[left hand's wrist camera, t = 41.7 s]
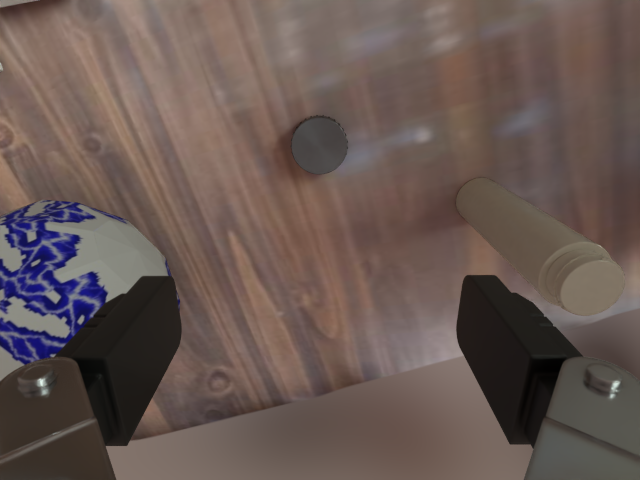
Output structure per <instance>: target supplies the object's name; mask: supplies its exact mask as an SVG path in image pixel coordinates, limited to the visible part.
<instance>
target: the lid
mask: <svg viewBox="0 0 640 480" xmlns="http://www.w3.org/2000/svg"><path fill="white" fill-rule="evenodd" d="M291 141H292V144H291V147H292V153H293V156H294V159H295V160H296V162H297V164H298V165H299V166H300V167H301V168H303V169H304V170H306V171H308V172H310V173H313V174H325V173H329V172H331V171H333V170H335V169H336V168H337V167H338V166H339V165H341V163H342V162H343V160H344V158H345V156H346V152H347V149H348V147H347V143H348V141H347V139H346V134H344V130H343V128H341V126H340V124H339V123H337V122H336V121H335V120H333V119H331V118H330V117H326V116H324V115H323V116H318V115H316V116H313V117H312V116H311V117H310V118H308V119H305V120H304V121H303V122H302V123H301V122H300V125H299V126H298V127H296V131H295V132H294V133H293V138H292V140H291Z"/></svg>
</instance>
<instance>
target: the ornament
mask: <svg viewBox="0 0 640 480" xmlns="http://www.w3.org/2000/svg"><path fill="white" fill-rule="evenodd" d="M142 276H171V273H170V270H169V267H168V264H167V261H166V258H165V257H164V256H163V255H162V254H161V252H160V251H159V250H158V249H157V248H156V247H155V246H154V245H153V244H152V243H151V242H150V241H149V240H148V239H147V238H146V237H145V236H143V235H142V234H141V233H140V232H139V231H138V230H137V229H136V228H135V227H134V226H133V225H132V224H131V223H130V222H129V221H128V220H126V219H123V218H120V217H117V216H114V215H111V214H108V213H105V212H103V211H100V210H97V209H94V208H91V207H88V206H85V205H83V204H80V203H76V202H64V201H52V200H41V201H38V202H35V203H33V204H30V205H27V206H24V207H22V208H19V209H16V210H13V211H11V212H9V213H6V214H4V215H2V216H0V381H1V380H2V379H3V378H4V377H6V376H7V375H8V374H10V373H11V372H13V371H14V370H16V369H18V368H19V367H21V366H24V365H26V364H28V363H31V362H33V361H37V360H40V359H44V358H50V357H54V356H55V355H56V354H57V353H58V352H59V351H60V350H61V349H62V348H63V347H64V346H65V345H66V344H67V343H68V341H69V340H70V339H71V338H72V337H73V336H74V335H75V334H76V333H77V332H78V331H79V330H80V329H81V328H84V325H85V324H86V322H87V321H88V320H89V319H90V318H93V315H94V314H95V313H96V312H97V311H98V310H99V309H100V308H101V307H102V306H103V305H104V303H106V302H108V301H110V300H111V299H113V298H115V297H116V296H118V295H120V294H122V293H127V292H128V291H129V290H130V289H131V287H132V286H133V285H134V284H135V283H136V282H137V281H138V280H139V278H140V277H142ZM176 293H177V291H176ZM177 299H178V306H179V309H180V300H179V297H178V294H177Z"/></svg>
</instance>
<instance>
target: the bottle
mask: <svg viewBox="0 0 640 480" xmlns="http://www.w3.org/2000/svg"><path fill="white" fill-rule="evenodd" d="M456 208H457V210H458V212H459V214H460V215H461V216H462V217H463V218H464V219H465V220H466V221H467V222H468V223H469V224H470V225H471V226H472V227H473V228H474V229H475V230H476V231H477V232H478V233H479V234H480V235H481V236H482V237H483V238H484V239H485V240H486V241H487V242H488V243H489V244H490V245H491V246H492V247H493V248H494V249H495V250H496V251H497V252H498V253H499V254H500V255H501V256H502V257H503V258H504V259H505V260H506V261H507V262H508V263H509V264H510V265H511V266H512V267H513V268H514V269H515V270H516V271H517V272H518V273H519V274H520V275H521V276H522V277H523V278H524V279H525V280H526V281H527V282H528V283H529V284H530V285H531V286H532V287H533V288H534V289H535V290H536V291H537V292H538V293H539V294H540V295H541V296H542V297H543V298H544V299H546V300H547V301H548V302H550V303H551V304H554V305H557V306H561V307H562V308H563V309H565V310H567V311H568V312H571V313H573V314H576V315H581V316H588V315H594V314H598V313H600V312H602V311H604V310H606V309H608V308H609V307H611V306H612V305H613V304H614V303H615V302H616V301H617V300H618V299H619V297H620V295H621V294H622V292H623V289H624V284H625V280H624V273H623V270H622V268H621V267H620V266H619V265H618V263H616V262H615V261H613V260H611V257H610V255H609V253H608V252H607V251H606V250H605V249H604V248H603V247H601V246H600V245H598V244H597V243H595V242H593V241H592V240H590V239H588V238H587V237H585V236H583V235H582V234H580V233H578V232H577V231H575V230H573V229H572V228H570V227H569V226H567V225H565V224H564V223H562V222H560V221H559V220H557V219H555V218H554V217H552V216H550V215H549V214H547V213H545V212H544V211H542V210H540V209H539V208H537V207H536V206H534V205H532V204H531V203H529V202H527V201H526V200H524V199H522V198H521V197H519V196H517V195H516V194H514V193H512V192H511V191H509V190H508V189H506V188H504V187H503V186H501V185H499V184H498V183H496V182H494V181H493V180H491V179H488V178H476V179H473V180H471V181H469V182H467V183H466V184H465V185H464V186H463V187H462V188H461V189H460V191H459V192H458V195H457V198H456Z"/></svg>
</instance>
